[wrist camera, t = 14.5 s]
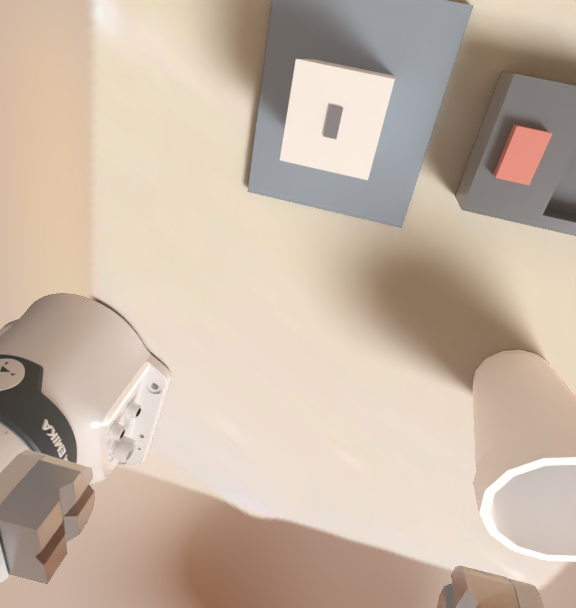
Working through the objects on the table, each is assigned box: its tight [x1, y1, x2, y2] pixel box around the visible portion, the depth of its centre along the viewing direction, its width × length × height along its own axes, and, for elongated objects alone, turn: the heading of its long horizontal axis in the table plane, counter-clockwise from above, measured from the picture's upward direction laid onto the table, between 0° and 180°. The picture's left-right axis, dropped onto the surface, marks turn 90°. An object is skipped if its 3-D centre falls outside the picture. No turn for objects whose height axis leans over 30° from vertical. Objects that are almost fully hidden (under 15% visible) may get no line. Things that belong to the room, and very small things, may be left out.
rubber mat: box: [248, 0, 473, 228], centre depth 30 cm, size 14×12×1 cm
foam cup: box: [473, 350, 576, 561], centre depth 32 cm, size 10×9×13 cm
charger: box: [280, 59, 395, 180], centre depth 27 cm, size 5×5×7 cm
